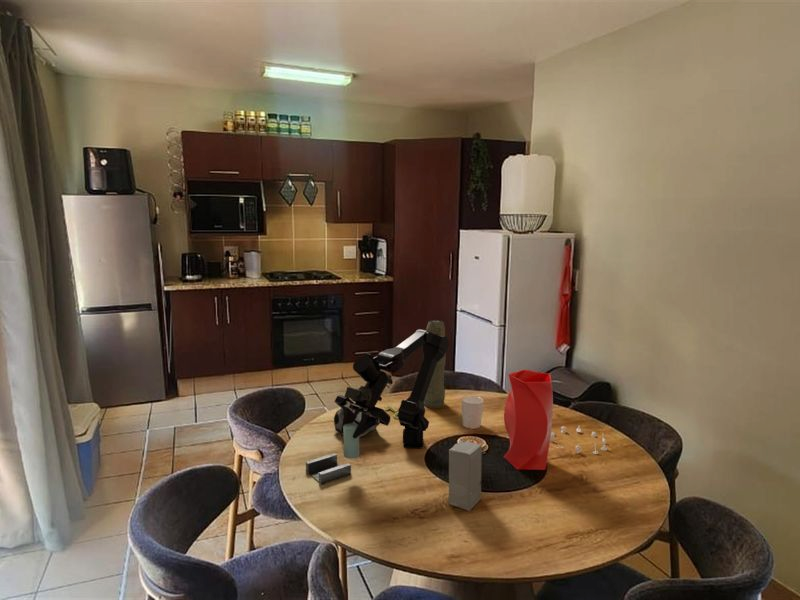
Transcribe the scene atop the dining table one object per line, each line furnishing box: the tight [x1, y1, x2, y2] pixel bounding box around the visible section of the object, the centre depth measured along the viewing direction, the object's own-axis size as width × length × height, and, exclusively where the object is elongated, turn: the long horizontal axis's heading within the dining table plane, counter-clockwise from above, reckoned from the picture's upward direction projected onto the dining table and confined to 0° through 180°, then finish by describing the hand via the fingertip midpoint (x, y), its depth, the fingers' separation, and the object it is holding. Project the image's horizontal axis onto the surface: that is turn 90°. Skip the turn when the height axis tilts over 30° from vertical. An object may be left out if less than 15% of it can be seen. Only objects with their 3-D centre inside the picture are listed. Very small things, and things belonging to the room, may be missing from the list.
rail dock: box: [305, 452, 352, 485], centre depth 154 cm, size 10×10×3 cm
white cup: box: [461, 395, 484, 430], centre depth 190 cm, size 8×8×10 cm
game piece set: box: [550, 425, 609, 455], centre depth 178 cm, size 19×20×4 cm
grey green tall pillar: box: [424, 319, 447, 409], centre depth 209 cm, size 9×12×35 cm
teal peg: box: [343, 423, 360, 460], centre depth 150 cm, size 4×4×9 cm
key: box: [384, 404, 399, 421], centre depth 200 cm, size 7×12×2 cm, turn 52°
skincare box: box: [448, 439, 483, 512], centre depth 139 cm, size 8×7×16 cm
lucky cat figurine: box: [333, 401, 381, 438], centre depth 181 cm, size 17×14×16 cm
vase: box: [503, 369, 554, 471], centre depth 161 cm, size 15×14×28 cm
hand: (347, 435), depth 149 cm, fingers closed on teal peg, 4 cm apart
